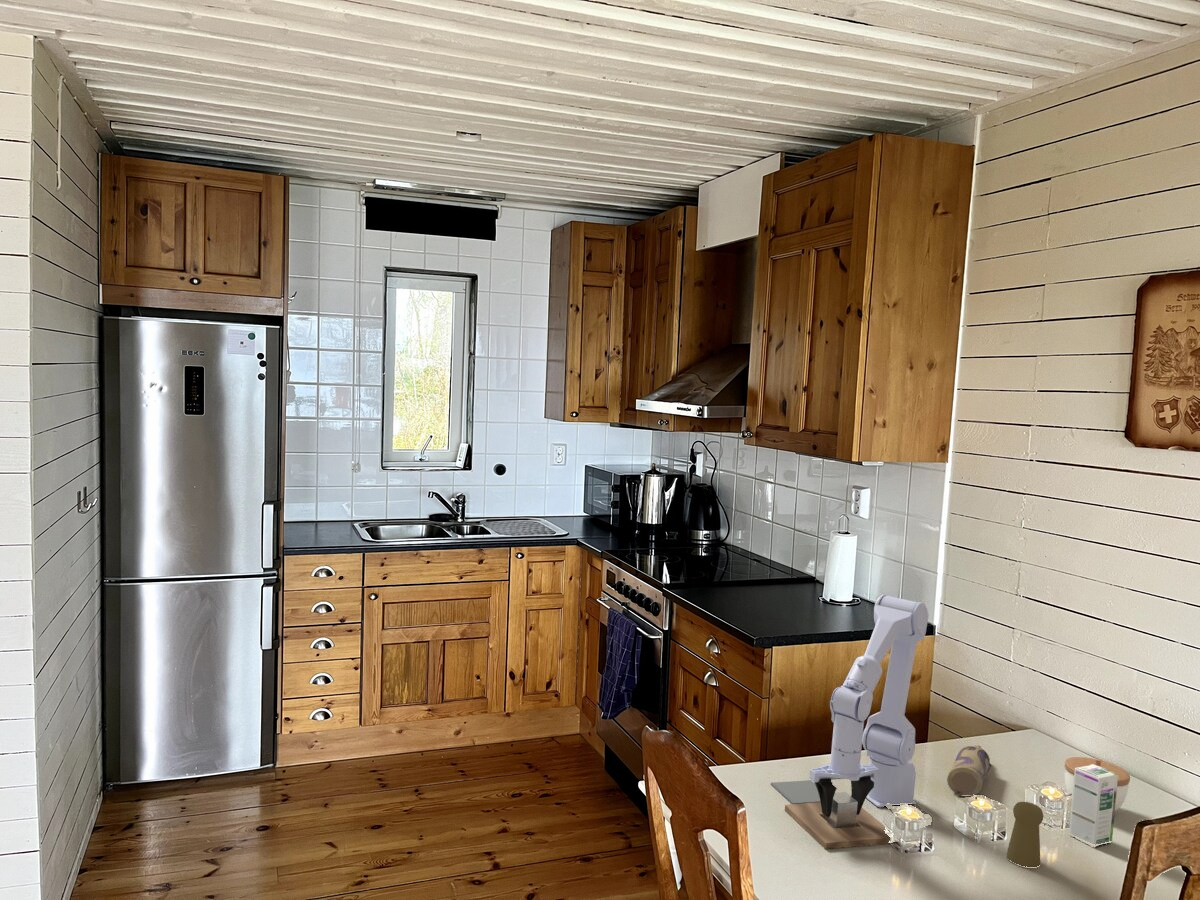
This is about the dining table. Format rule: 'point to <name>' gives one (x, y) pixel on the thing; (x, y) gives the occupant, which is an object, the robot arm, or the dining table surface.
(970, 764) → the decorative bottle
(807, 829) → the walnut hole plate
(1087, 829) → the syrup box
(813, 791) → the gray square plate
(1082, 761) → the lidded bowl
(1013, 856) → the olive pawn figure
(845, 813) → the steel plug
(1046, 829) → the dining table surface
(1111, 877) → the dining table surface
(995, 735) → the dining table surface
